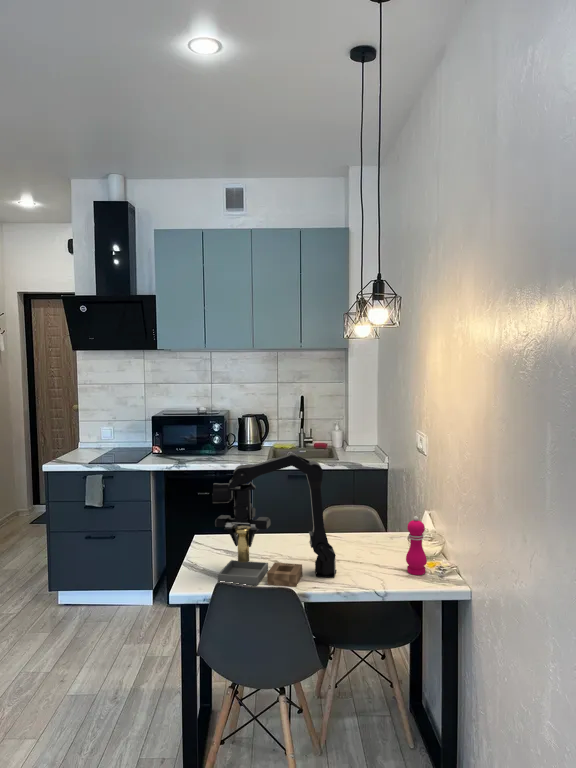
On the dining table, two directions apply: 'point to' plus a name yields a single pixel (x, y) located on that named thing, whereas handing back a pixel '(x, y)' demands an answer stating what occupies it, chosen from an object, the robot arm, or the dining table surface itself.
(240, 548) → the brass pin
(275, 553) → the dining table surface
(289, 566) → the walnut block
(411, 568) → the pepper mill
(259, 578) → the charcoal tray
